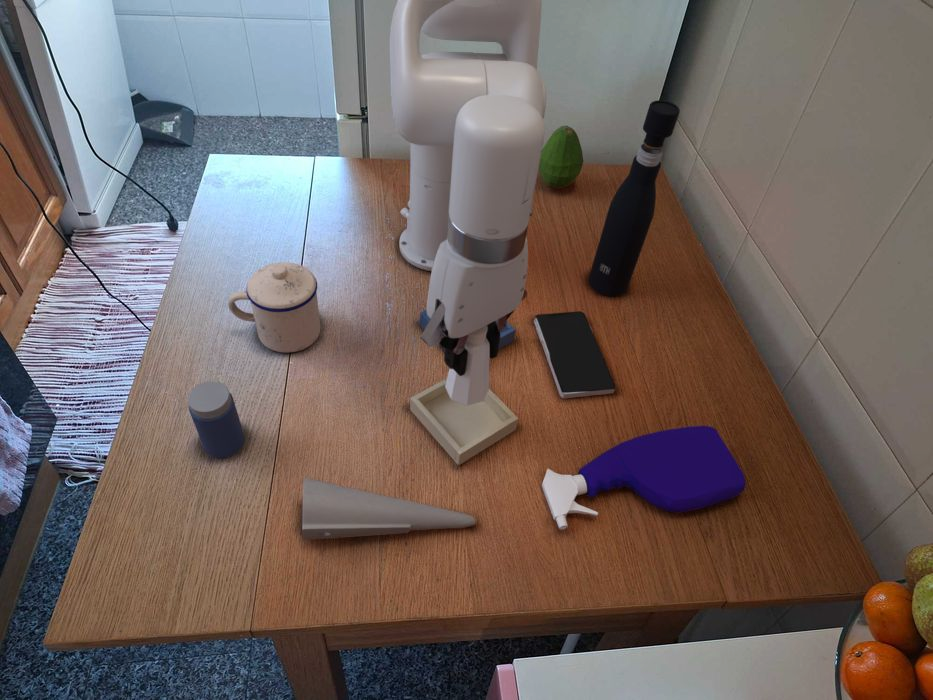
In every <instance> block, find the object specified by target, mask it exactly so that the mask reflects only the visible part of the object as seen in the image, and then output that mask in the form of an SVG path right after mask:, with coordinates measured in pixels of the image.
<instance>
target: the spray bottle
mask: <svg viewBox="0 0 933 700" xmlns="http://www.w3.org/2000/svg"><path fill="white" fill-rule="evenodd" d="M746 485H747V482H746V478H745V474H744V472H743V470H742V469H741V467H740V465H739V464H738V462H737V461H736V459H735V457H734V456H733V454H732V452H731V451H730V449H729V448H728V446H727V445H726V443H725V442H724V440H723V438H722V437H721V435H720V434H719V432H718V431H717V429H716V428H715V427H712V426H709V425H708V426H707V425H694V426H683V427H677V428H672V429H671V428H670V429H663V430H659V431H655V432H651V433H646V434H643V435H639V436H635V437H632V438H630V439H628V440H625V441H623V442H621V443H618V444H617V445H615V446H613V447H611V448H609V449H608V450H606V451H604V452H602V453H601V454H600V455H598V456H597V457H595V458H594V459H592V460H591V461H589V462H587V463H586V464H585V465H583V466H582V467H581V468H579V469H578V473H577V474H574V475H572V474H560V473H557V472H555V471H553V470H551V469H550V468H546V472H545V474H544V478H543V481H542V484H541V489H542V491H543V493H544V496H545V500H546V502H547V504H548V507H549V510H550V513H551V515H552V518H553V520H554V521H556V523H557V527H558V529H559V530H561V531H562V530H566V529H567V528H568V522H567V516H568V514H583V515H591V516H595V517H598V515H599V512H598V511H595V510H594V509H591V508H589V507H586V506H583V505H581V504H578V503H577V502H576V501H575V499H576V497H577V496H580V495H585V496H586V497H588V498H595V497H596V496H597V495H598V494H599V493H600V492H610V491H611V490H612V489H621V488H623V487H627V488H630V489H631V490H632V491H633V492H634V493H635V494H637V495H638V496H640V497H641V498H642V499H643V500H645V501H646V502H648V503H649V504H650V505H652V506H654V507H656V508H658V509H660V510H662V511H665V512H671V513H676V514H679V513H685V512H689V511H694V510H695V511H696V510H700V509H704V508H707V507H710V506H713V505H717V504H719V503H723V502H726V501H728V500H732V499H734V498H736V497H737V496H739V495H740V494H742V493H743V492H744V491H745V489H746Z"/></svg>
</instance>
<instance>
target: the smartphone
mask: <svg viewBox="0 0 933 700" xmlns="http://www.w3.org/2000/svg"><path fill="white" fill-rule="evenodd" d="M533 323H534V326H535V330H536V333H537V336H538V338H539V341H540V344H541V346H542V349H543V352H544V354H545V357H546V361H547V363H548V366H549V368H550V371H551V374H552V377H553V379H554V383H555V385H556V388H557V391H558V394H559V396H560V398H562V399H572V398H574V399H575V398H581V397H590V396H601V395H610V394H611V395H612V394H614V392H615V390H616V383H615V381H614V379H613V377H612V374H611V372H610V369H609V366H608V365H607V362H606V360H605V358H604V356H603V354H602V352H601V349H600V346H599V345H598V342H597V340H596V337H595V335H594V332H593V329H592V327H591V325H590V323H589V321H588V318H587V316H586V314H585V312H583V311H580V310H579V311H565V312H554V313H543V314H542V313H541V314H535V317H534V320H533Z"/></svg>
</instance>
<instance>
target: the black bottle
mask: <svg viewBox="0 0 933 700" xmlns="http://www.w3.org/2000/svg"><path fill="white" fill-rule="evenodd" d="M647 109H648V110H647V112H646V116H645V119H644V121H643V122H644V123H643V126H642V130H643V132H645V137H644V139H643V142H642V143H641V145H640V146H639V147H638V149H637V153H636V155H635V156H634V157H633V159H632V163H631V166H630V170H629V173H628V174H627V176H626V178H625V179H624V180H623V182H622V183H621V184H620V185H619V186H618V188H617V190H616V191H615V193H614V194H613V197H612V199H611V201H610V204H609V207H608V210H607V214H606V217H605V221H604V224H603V226H602V230H601V233H600V238H599V241H598V243H597V244H598V245H597V248H596V251H595V255H594V258H593V262H592V266H591V268H590V272H589V275H588V280H587V281H588V284H589V286H590V288H591V289H592V290H594V291H595V292H596V293H598V294H600V295H602V296H607V297H619V296H622V295H623V294H625V293H626V292H627V290H628V289H629V286H630V283H631V280H632V277H633V275H634V271H635V269H636V266H637V263H638V261H639V258H640V255H641V252H642V249H643V247H644V243H645V241H646V238H647V235H648V232H649V229H650V227H651V224H652V221H653V218H654V216H655V210H656V201H657V200H656V199H657V189H656V188H657V187H656V186H657V185H656V181H657V178H658V175H659V172H660V169H661V166H662V157H663V155H664V153H663V147H664V144H665V140H666V139H667V138H669V137H671V136H672V135H673V133H674V129H675V127H676V125H677V121H678V118H679V115H680V112H681V110H680V107H679V106H678V105H677V104H675V103H673V102H671V101H668V100H662V99H661V100H660V99H659V100H658V99H657V100H653V101H651V102H650V103H649V105H648V108H647Z"/></svg>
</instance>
